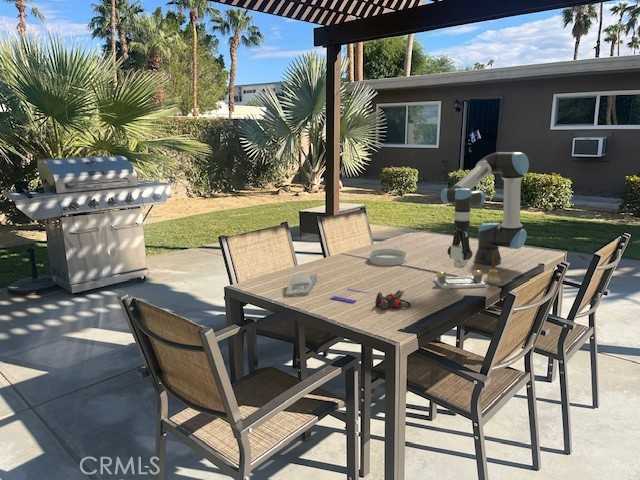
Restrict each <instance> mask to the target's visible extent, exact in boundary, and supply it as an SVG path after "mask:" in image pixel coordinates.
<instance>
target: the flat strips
mask: <svg viewBox="0 0 640 480" xmlns="http://www.w3.org/2000/svg"><path fill="white" fill-rule="evenodd" d="M346 291H352V292H355V293H362V294H370V292H365V291H360V290H355V289H349V288H348V289H346ZM329 299H331V300H336V301H341V302H347V303H352V304H353V303H355V302H357V301H358V300H356V299H351V298H346V297H341V296H336V295H335V296H332V297H329Z"/></svg>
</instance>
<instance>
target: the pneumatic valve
mask: <svg viewBox="0 0 640 480" xmlns="http://www.w3.org/2000/svg"><path fill="white" fill-rule="evenodd" d="M469 248H470V253H468V254H467V261H469V260H471V259H472V257H473V251H472V250H471V246H469ZM461 252H462V245H461V243H460V244H459V245H452V244H451V245H450V246H449V247H448V248H447V255H448V257H449V259H453V261H454V262H453V267H454V268H456V269H462V268H465V267H466V266H461V257H462V253H461ZM454 259H456V260H454Z"/></svg>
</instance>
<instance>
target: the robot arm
mask: <svg viewBox="0 0 640 480" xmlns="http://www.w3.org/2000/svg"><path fill="white" fill-rule="evenodd" d="M529 166H530V163H529V157H528V156H527V155H526V154H525V153H524V152H519V151H517V152H516V151H511V152H510V151H507V152H506V151H505V152H504V151H503V152H502V151H497V152H493V153H491V154H488V155H486V156H484V157H483V158H481V159H480V160H479V161H478V162H477V163H476V165H475V167H474V168H473V169H471V170H470V171H469V172H467V174H466V175H464V176H463V177H462V178H461V179H460V180H459V181H458V182H456V183H455V184H454V185H453V186H451V188H443V190H441V193H440V199H441V201H442V203H447V204H454V213H453V216H454V217H453V219H454V220H453V221H454V222H453V227H454V229H453V230H454V231H453V238H452V243H451V246H452V245H459V244H460V245H461V246H462V252H461V253H462V257H461V266H465V267H467V266H468V260H467V254H468V253H470V249H471V247H470V233H469V232H467V229H469V228H470V225H471V224H470V223H471V221H470V220H471V207H475V206H476V207H477V206H480V205H482V204H484V203H485V202H486V194H485V193H484V192H483V191H482V190H477V189H476V190H475V189H474V190H472V189H473V188H474V187H476V186H477V185H478V184H479V183H480V182H481V181H482V180H483V179H484V178H485V177H489V176H490V175H492V174H500V178H501V179H502V180H503V214H502V215H503V217H502V219H503V220H502V221H503V222H502V223H500V222H487V223H481V224H480V225H479V227H478V241H477V246H478V247H477V249H476V252H475V254H474V255H475V256H473V257H474V259H473V261H474V262H475V263H476V264H477V263H478V264H482V265H492V264H493V262H492V254H493V252H494V251H496V252H497V261H496V265H498V264H501V263H502V256H501V253H500V250H499V249H500V247H501V248H507V249H511V250H519V249H521V248H522V247H523V246H524V245H525V242H526V241H527V234H528V233H527V231H526V229H524V228H523V224H522V223H521V218H520V217H521V187H522V186H521V182H522V180H523V178H525V175H526V174H527V173H528V171H529ZM469 247H470V248H469ZM453 261H457V260H456V259H453Z"/></svg>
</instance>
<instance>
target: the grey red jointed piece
mask: <svg viewBox="0 0 640 480" xmlns="http://www.w3.org/2000/svg"><path fill="white" fill-rule="evenodd" d="M403 294H404V290H401V289H399V290H397V291H396V292H394V293H392V292H391V293H388V294H386V296H383V293H382V292H378V293H377V294H376V296H375V297H376V298H375V303H374V304H375V307H377V306H380V308H382V309H384V310H386V309H388V308H389V307H392V308H393V309H396V310H397V309H402V308H410V307H412V303H411V302H409V301H408V300H405V299H400V298H399V297H401V295H403ZM403 303H405V304H403Z"/></svg>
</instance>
